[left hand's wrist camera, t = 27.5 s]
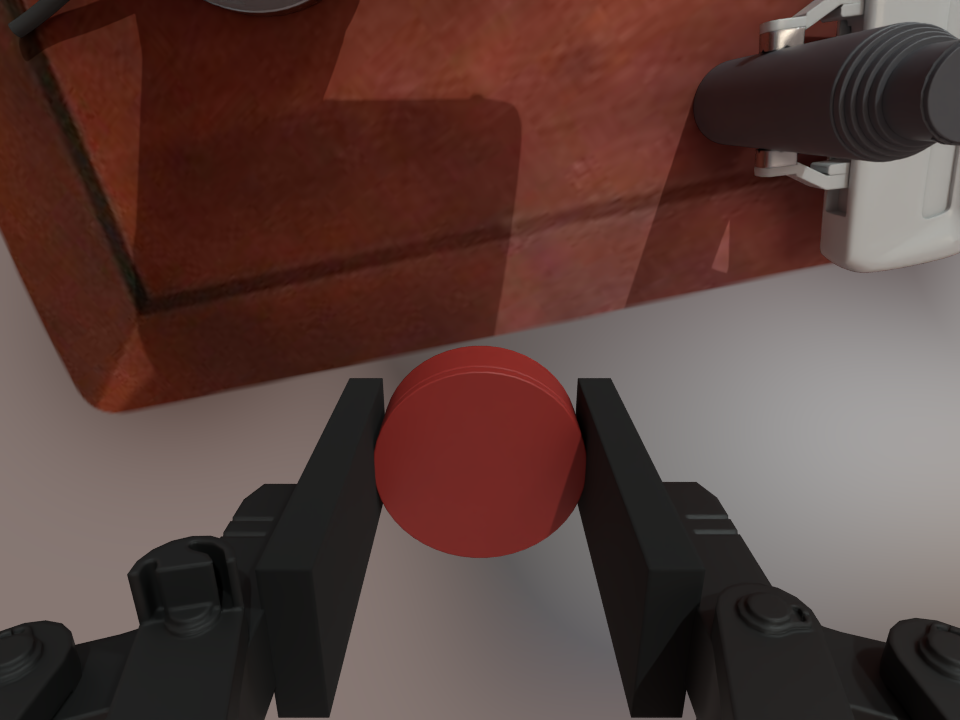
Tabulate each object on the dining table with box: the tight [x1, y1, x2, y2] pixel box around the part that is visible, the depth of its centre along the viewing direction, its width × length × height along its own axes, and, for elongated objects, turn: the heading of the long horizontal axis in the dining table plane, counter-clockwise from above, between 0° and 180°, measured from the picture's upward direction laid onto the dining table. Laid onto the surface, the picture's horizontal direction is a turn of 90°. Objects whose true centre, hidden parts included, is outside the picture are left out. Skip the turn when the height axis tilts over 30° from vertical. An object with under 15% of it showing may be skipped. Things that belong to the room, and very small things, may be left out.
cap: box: [374, 346, 586, 558], centre depth 14 cm, size 5×5×2 cm
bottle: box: [694, 22, 960, 162], centre depth 31 cm, size 5×5×22 cm
